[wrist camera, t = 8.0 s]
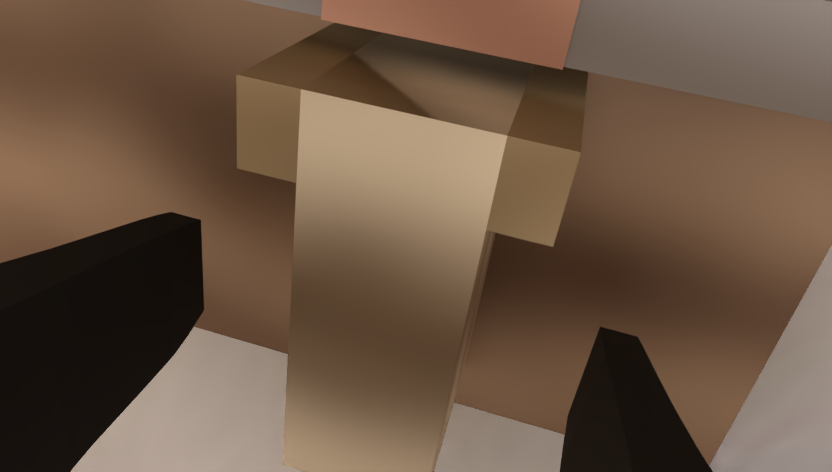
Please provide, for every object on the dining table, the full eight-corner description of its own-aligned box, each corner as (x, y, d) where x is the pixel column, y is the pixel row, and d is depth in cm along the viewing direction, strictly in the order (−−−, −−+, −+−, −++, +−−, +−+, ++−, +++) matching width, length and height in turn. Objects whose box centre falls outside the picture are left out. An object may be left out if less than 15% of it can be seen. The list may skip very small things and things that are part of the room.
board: (698, 445, 17) (719, 567, 14) (-167, 199, 21) (-296, 252, 18) (951, -31, 11) (1082, 4, 8) (-332, -248, 15) (-567, -281, 12)
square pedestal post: (502, 375, 16) (471, 524, 13) (319, 323, 17) (238, 450, 13) (588, 68, 12) (581, 152, 9) (343, 17, 13) (236, 74, 9)
